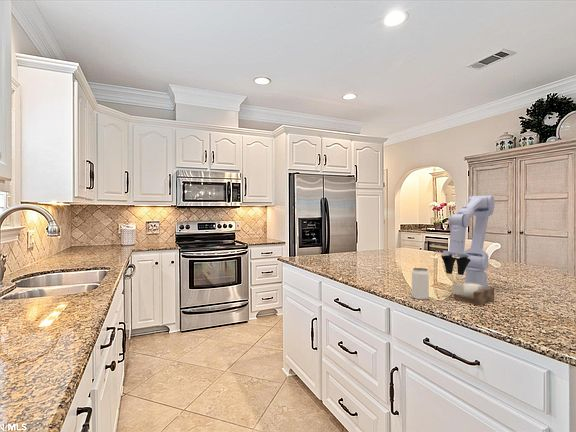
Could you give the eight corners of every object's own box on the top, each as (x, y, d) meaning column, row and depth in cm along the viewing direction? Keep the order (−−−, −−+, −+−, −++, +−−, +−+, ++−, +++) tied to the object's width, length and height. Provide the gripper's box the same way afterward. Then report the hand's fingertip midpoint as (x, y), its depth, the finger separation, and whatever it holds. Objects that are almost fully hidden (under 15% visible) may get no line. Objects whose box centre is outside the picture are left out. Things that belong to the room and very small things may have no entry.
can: (430, 300, 133) (430, 270, 132) (413, 299, 134) (413, 270, 134) (426, 296, 139) (426, 268, 139) (410, 295, 140) (410, 267, 140)
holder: (469, 295, 141) (469, 283, 141) (494, 300, 133) (494, 287, 133) (452, 300, 132) (452, 288, 132) (477, 305, 125) (477, 292, 125)
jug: (485, 300, 132) (485, 284, 132) (477, 303, 129) (478, 286, 128) (456, 295, 141) (456, 280, 141) (449, 297, 138) (449, 281, 138)
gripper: (455, 240, 133) (452, 274, 131) (476, 244, 139) (474, 276, 138) (439, 239, 139) (437, 272, 138) (461, 243, 146) (459, 274, 144)
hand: (454, 274), depth 138 cm, fingers open, 7 cm apart
